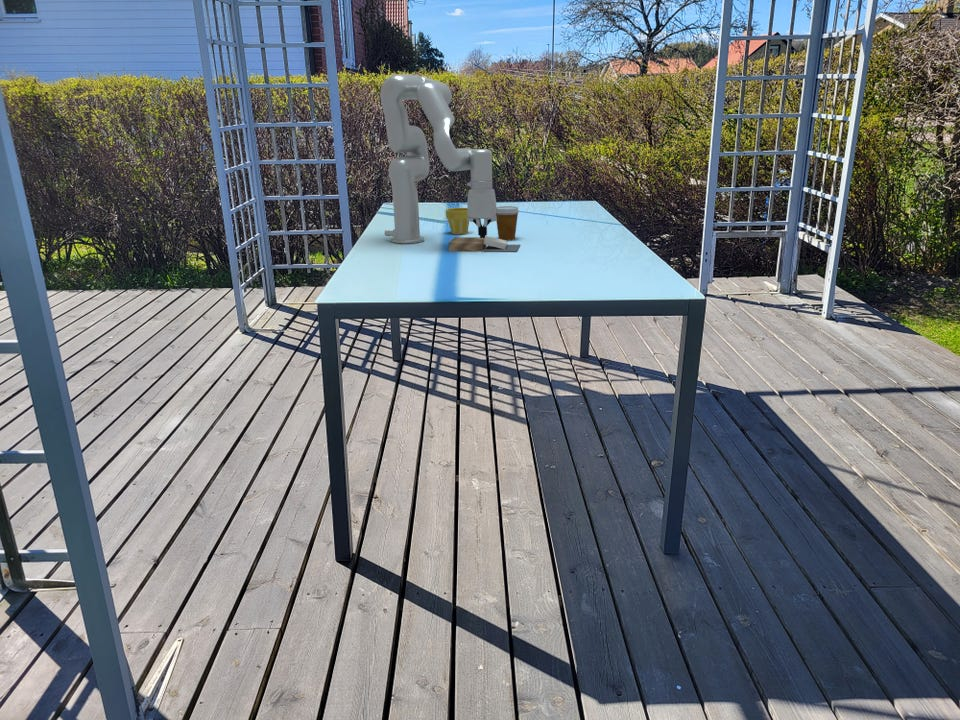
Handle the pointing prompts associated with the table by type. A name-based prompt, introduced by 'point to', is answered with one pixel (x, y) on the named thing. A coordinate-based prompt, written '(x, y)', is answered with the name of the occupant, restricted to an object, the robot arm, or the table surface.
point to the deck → (467, 244)
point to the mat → (508, 249)
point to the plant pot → (458, 220)
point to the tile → (495, 242)
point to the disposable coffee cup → (506, 222)
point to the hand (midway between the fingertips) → (482, 237)
